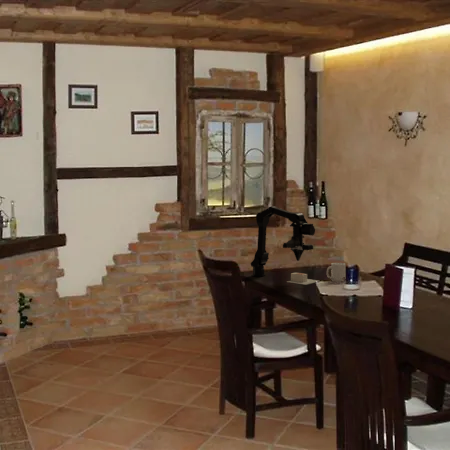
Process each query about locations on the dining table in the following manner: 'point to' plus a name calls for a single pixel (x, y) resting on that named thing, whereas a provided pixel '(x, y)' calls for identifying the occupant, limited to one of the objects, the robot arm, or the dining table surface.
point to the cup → (337, 271)
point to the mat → (303, 282)
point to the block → (299, 277)
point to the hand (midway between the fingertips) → (297, 260)
